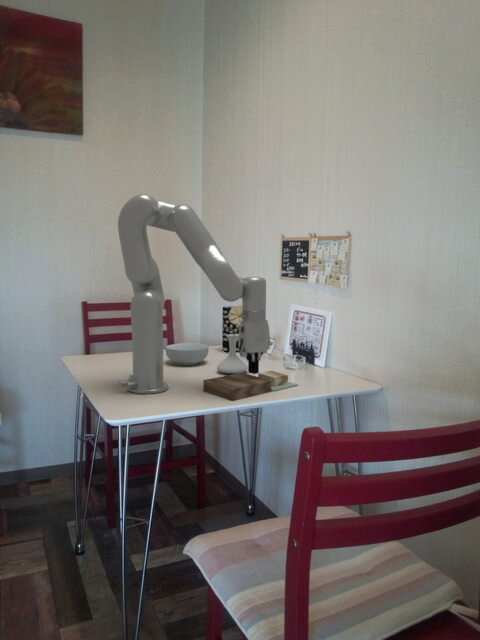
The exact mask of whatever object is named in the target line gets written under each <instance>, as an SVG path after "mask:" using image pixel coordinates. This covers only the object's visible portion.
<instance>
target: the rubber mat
mask: <svg viewBox="0 0 480 640" xmlns="http://www.w3.org/2000/svg"><path fill="white" fill-rule="evenodd" d="M297 386H299V384H297V383H293V382H290V381H288V384H285V385H281V386H276V387H274V386H271V392H274V393H275V392H278V391H282V390H287V389H290V388H294V387H297Z"/></svg>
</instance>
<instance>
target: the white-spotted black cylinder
mask: <svg viewBox="0 0 480 640" xmlns="http://www.w3.org/2000/svg"><path fill="white" fill-rule="evenodd" d="M234 307H235V306H222V327H221V328H222V329H221V330H222V331H221V332H222V344H221V345H222V350H221V352H222V351H224V352H229V351H230V347H229V340H228V338H227V337H226V335H228V334H235V332H236V331H237V329H238V328H239V326H238V325H236V324H233V323H231V322H230V320H229V317H228V314H229V312H230V310H231V308H234ZM227 327H229V328H231V329H233V330H234V331H233V330H231V329H229V328H227ZM236 334H237V335H239V329H238V331H237V332H236ZM238 342H239V337H238V339H237V342H236V352H239V351H240V350H239V344H238ZM224 352H223V353H224ZM239 353H240V352H239Z"/></svg>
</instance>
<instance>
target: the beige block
mask: <svg viewBox="0 0 480 640" xmlns="http://www.w3.org/2000/svg"><path fill="white" fill-rule="evenodd" d="M257 375H258V376H257V377H260V378H264V379H267V380H271V381H272V383H271V386H274V387H276V386H281V385H285V384H288V382H289V374H286V373H282V372H278V371H274V370H269V371H268V370H267V371H262V372H259V373H257Z"/></svg>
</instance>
